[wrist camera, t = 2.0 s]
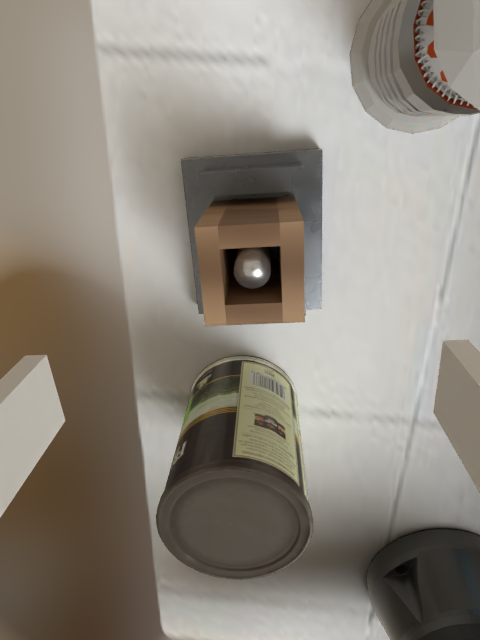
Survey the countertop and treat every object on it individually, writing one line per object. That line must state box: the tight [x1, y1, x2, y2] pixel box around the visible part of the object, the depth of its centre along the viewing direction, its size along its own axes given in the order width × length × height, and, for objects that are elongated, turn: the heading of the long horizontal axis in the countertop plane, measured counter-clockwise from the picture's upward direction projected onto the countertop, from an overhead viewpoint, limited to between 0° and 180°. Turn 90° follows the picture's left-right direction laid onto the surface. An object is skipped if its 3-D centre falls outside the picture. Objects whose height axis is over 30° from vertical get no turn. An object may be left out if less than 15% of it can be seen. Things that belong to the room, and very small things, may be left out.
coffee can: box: [156, 356, 313, 579], centre depth 35 cm, size 10×10×14 cm
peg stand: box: [181, 149, 322, 316], centre depth 30 cm, size 12×10×10 cm
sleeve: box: [194, 196, 305, 326], centre depth 29 cm, size 6×6×9 cm
